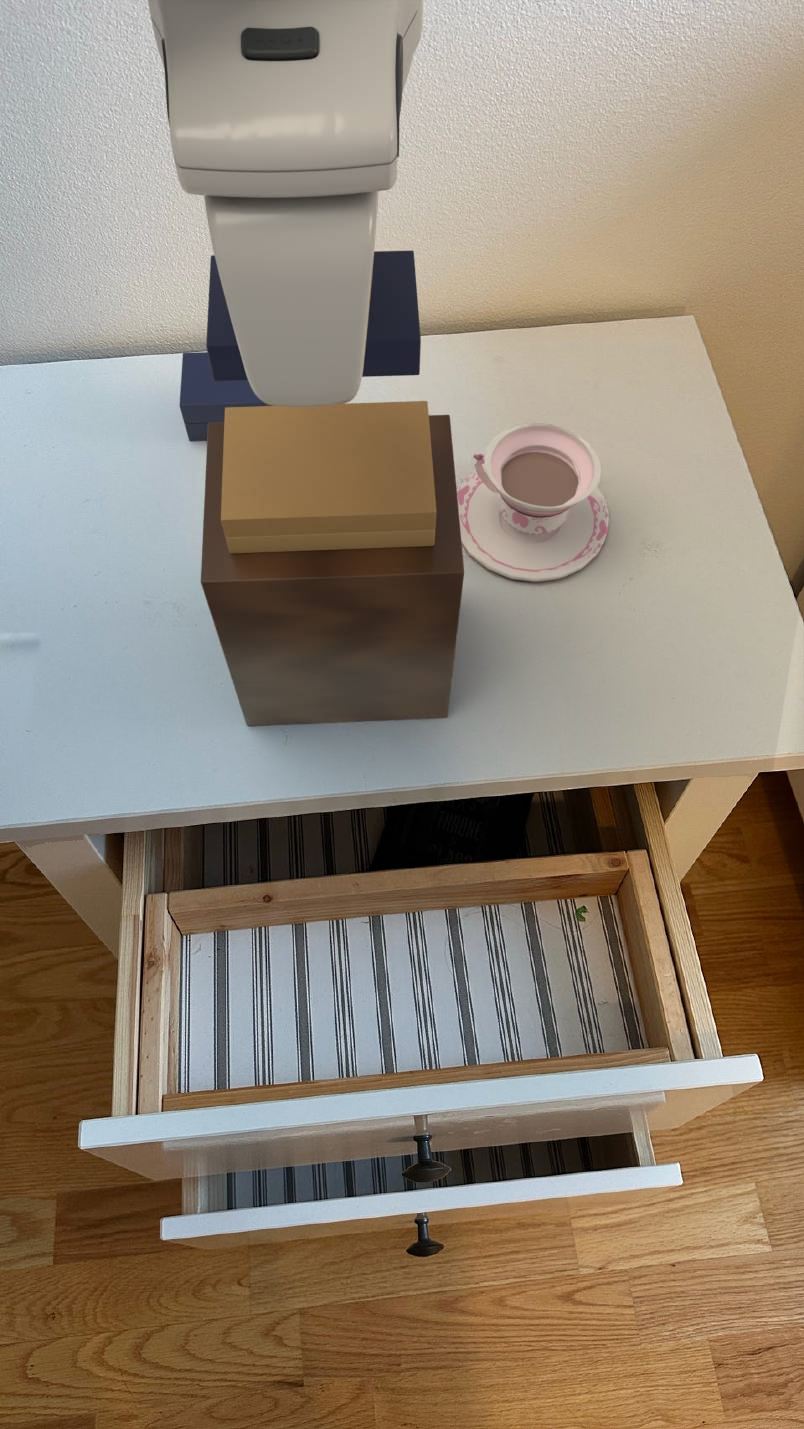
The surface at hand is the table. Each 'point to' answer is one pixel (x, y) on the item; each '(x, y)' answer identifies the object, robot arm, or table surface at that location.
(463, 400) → the table surface
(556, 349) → the table surface
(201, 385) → the navy books
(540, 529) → the teacup
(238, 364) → the navy book
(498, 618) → the table surface
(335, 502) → the tan books
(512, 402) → the table surface
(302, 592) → the book stand
